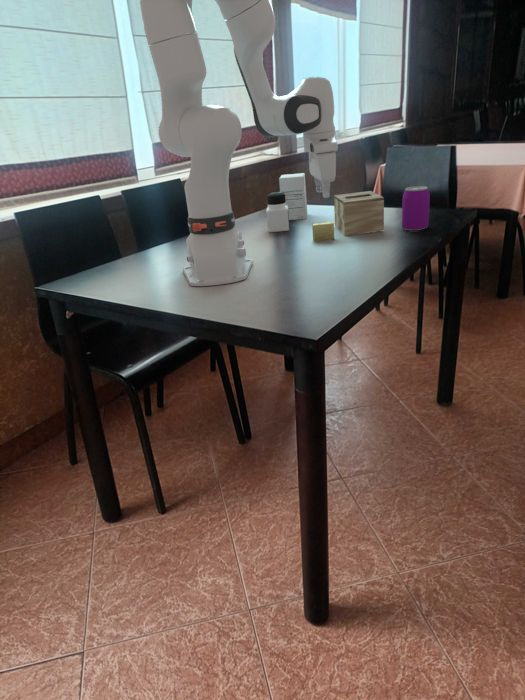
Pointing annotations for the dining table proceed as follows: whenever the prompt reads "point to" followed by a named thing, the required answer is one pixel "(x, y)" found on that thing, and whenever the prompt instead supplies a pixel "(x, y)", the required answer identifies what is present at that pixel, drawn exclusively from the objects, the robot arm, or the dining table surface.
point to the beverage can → (415, 208)
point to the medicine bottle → (277, 212)
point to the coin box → (359, 213)
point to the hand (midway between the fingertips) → (322, 194)
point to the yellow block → (323, 231)
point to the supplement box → (294, 195)
